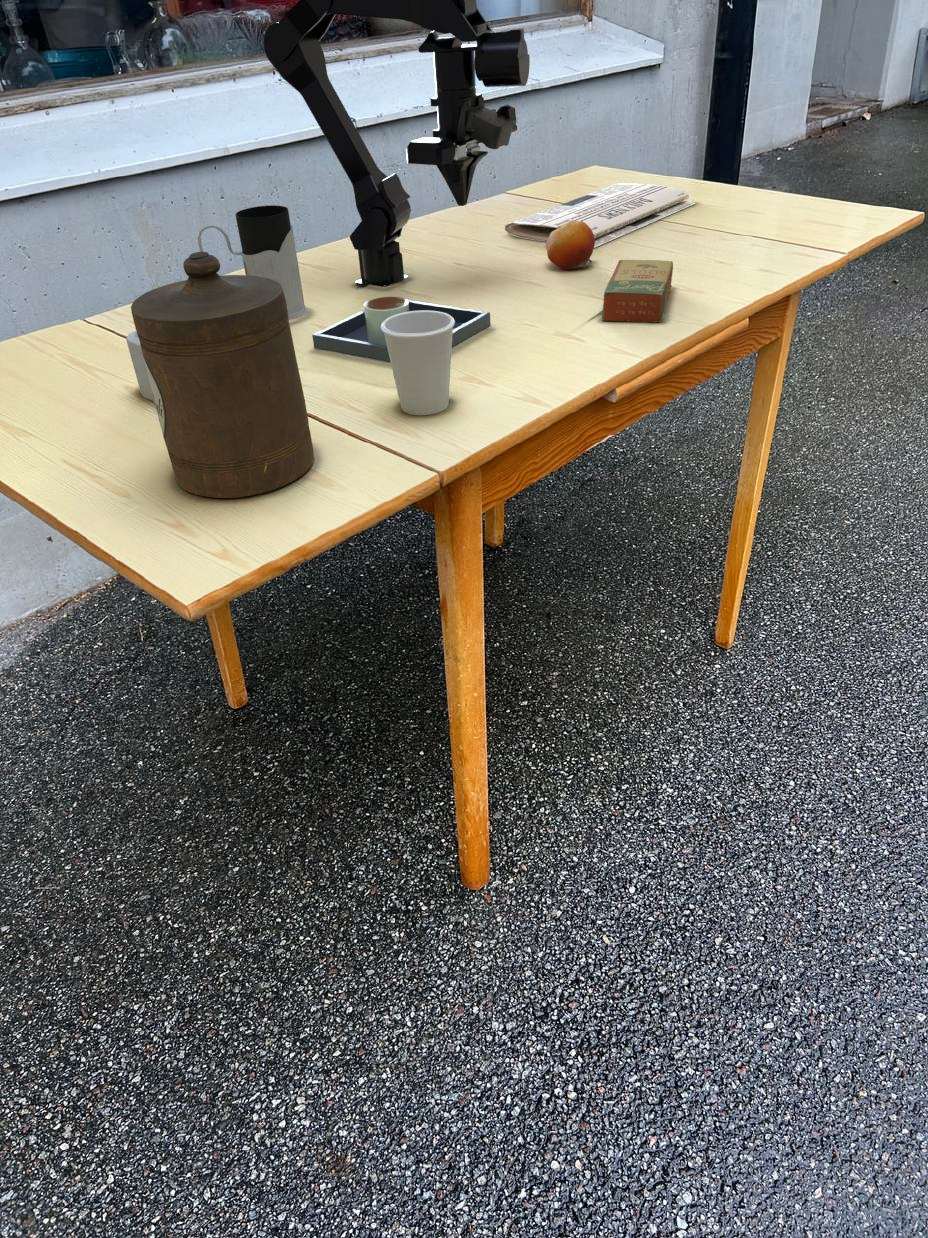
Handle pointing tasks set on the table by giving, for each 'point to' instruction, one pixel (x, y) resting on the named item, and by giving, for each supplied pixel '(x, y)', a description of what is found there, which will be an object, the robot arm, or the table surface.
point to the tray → (354, 341)
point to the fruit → (571, 245)
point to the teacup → (382, 315)
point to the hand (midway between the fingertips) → (462, 205)
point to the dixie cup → (420, 359)
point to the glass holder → (269, 251)
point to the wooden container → (225, 381)
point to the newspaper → (606, 212)
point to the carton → (638, 291)
